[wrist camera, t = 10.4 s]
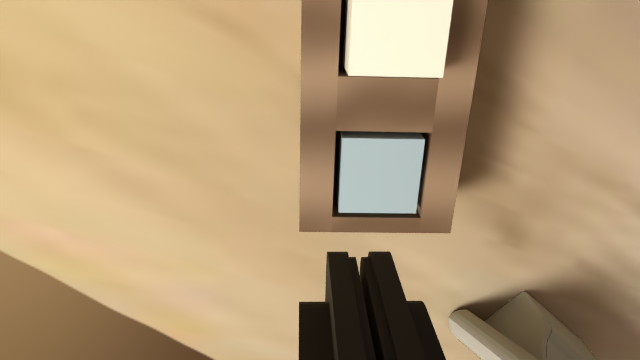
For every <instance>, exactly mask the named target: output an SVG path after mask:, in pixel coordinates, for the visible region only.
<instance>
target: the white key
mask: <svg viewBox="0 0 640 360" xmlns="http://www.w3.org/2000/svg"><path fill="white" fill-rule="evenodd" d="M452 7H453V0H346V3H345V25H344V47H343V66H344V68H345V70H346V72H347V74H348V76H382V77H427V78H443V74H444V66H445V59H446V52H447V44H448V37H449V29H450V22H451V14H452Z"/></svg>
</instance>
